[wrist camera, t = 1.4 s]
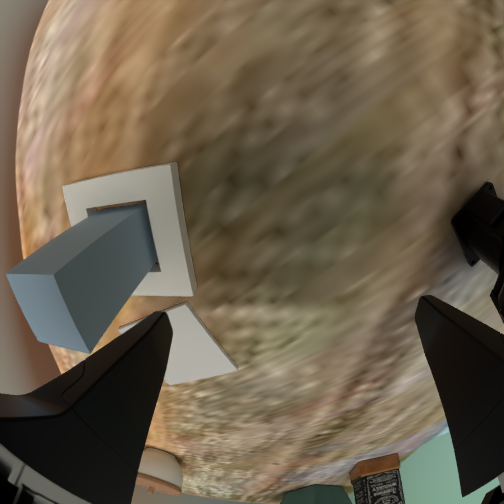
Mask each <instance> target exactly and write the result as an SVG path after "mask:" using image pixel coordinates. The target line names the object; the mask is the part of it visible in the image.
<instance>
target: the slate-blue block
mask: <svg viewBox="0 0 504 504" xmlns="http://www.w3.org/2000/svg"><path fill="white" fill-rule="evenodd" d="M157 261H158V256H157V252H156V247H155V243H154V238H153V234H152V229H151V224H150V219H149V214H148V208H147V203H143V204H135V205H127V206H120V207H112V208H106V209H101V210H99V211H97V212H96V213H94V214H92V215H91V216H89V217H87V218H86V219H84V220H82V221H81V222H79V223H77V224H76V225H74V226H73V227H71V228H69V229H68V230H66V231H65V232H63V233H62V234H60V235H59V236H57V237H56V238H54V239H53V240H51V241H50V242H48V243H47V244H45V245H44V246H42V247H41V248H40V249H38V250H37V251H35V252H34V253H32V254H31V255H30V256H28V257H27V258H26V259H24V260H23V261H22V262H20V263H19V264H18V265H16V266H15V267H14V268H12V269H11V270H10V271H9V272H7V273H6V275H7V278H8V280H9V283H10V285H11V288H12V290H13V292H14V294H15V296H16V299H17V301H18V303H19V305H20V307H21V309H22V311H23V313H24V315H25V317H26V319H27V321H28V323H29V325H30V327H31V329H32V331H33V332H34V334H35V336H36V337H37V339H38V341H40V342H43V343H47V344H51V345H55V346H59V347H63V348H67V349H71V350H75V351H80V352H85V353H89V354H91V352H92V351H93V349H94V347H95V346H96V344H97V343H98V341H99V340H100V339H101V337H102V336H103V334H104V333H105V331H106V330H107V328H108V327H109V325H110V324H111V323H112V321H113V320H114V318H115V317H116V315H117V314H118V313H119V311H120V310H121V308H122V307H123V306H124V304H125V303H126V301H127V300H128V299H129V297H130V296H131V295H132V293H133V292H134V291H135V289H136V288H137V287H138V285H139V284H140V283H141V281H142V280H143V279H144V277H145V276H146V275H147V273H148V272H149V271H150V270H151V268H152V267H153V266H154V264H155V263H156V262H157Z"/></svg>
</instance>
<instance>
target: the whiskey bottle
mask: <svg viewBox="0 0 504 504" xmlns="http://www.w3.org/2000/svg"><path fill="white" fill-rule="evenodd" d="M399 468H400V460H399V455H398V454H393V455H388V456H384V457H380V458H375V459H370V460H365V461H361V462H359V463H357V465H356V466H355V467H354V468H353V469H352V470H351V471H350V472H349V474H350V480H351V484H352V485H353V488H354V495H355V503H356V504H405V500H404V494H403V489H402V482H401V477H400V471H399Z"/></svg>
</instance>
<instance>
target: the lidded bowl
mask: <svg viewBox="0 0 504 504" xmlns="http://www.w3.org/2000/svg"><path fill="white" fill-rule="evenodd" d="M182 483H183V473H182V469H181V466H180V465H179V463H178V462H177V461H176V458H175V457H174V456H173V455H171V454H169V453H167V452H165V451H162V450H159V449H154V448H146V450H143V454H142V458H141V462H140V466H139V470H138V475H137V479H136V484H138V485H140V486H143V487H145V488H148V493H150V494H153V492H154V491H157V492H161V493H165V494H171V495H180V494H181V491H182V490H181V488H182Z"/></svg>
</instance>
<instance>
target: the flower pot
mask: <svg viewBox="0 0 504 504" xmlns="http://www.w3.org/2000/svg"><path fill="white" fill-rule="evenodd" d="M280 504H352V502H351V500H350V499H349V497H348V495H347V494H346V492H345V491H344V489H343V488H342V487H340V486H325V485H312V486H309V487H305V488H302V489H298V490H295V491H291V492H287V493H285V495H284V497H283V499H282V501H281V503H280Z"/></svg>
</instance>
